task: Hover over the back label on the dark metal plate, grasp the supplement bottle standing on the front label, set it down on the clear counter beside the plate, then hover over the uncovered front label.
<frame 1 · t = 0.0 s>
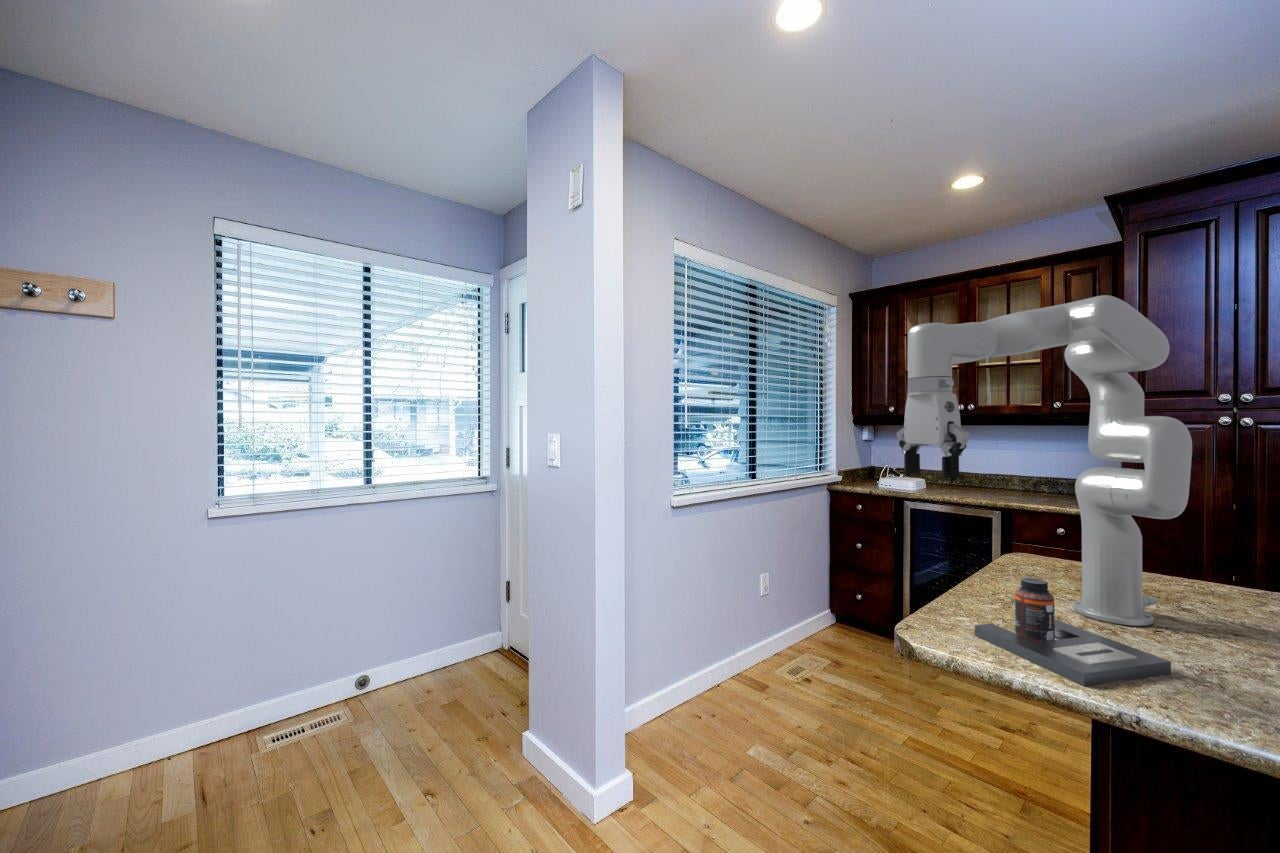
hand: (930, 475, 100), 31 cm above the table, tool pointing down, fingers open, 9 cm apart
supplement bottle: (1034, 641, 97), resting on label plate
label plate: (1064, 652, 92), on the table
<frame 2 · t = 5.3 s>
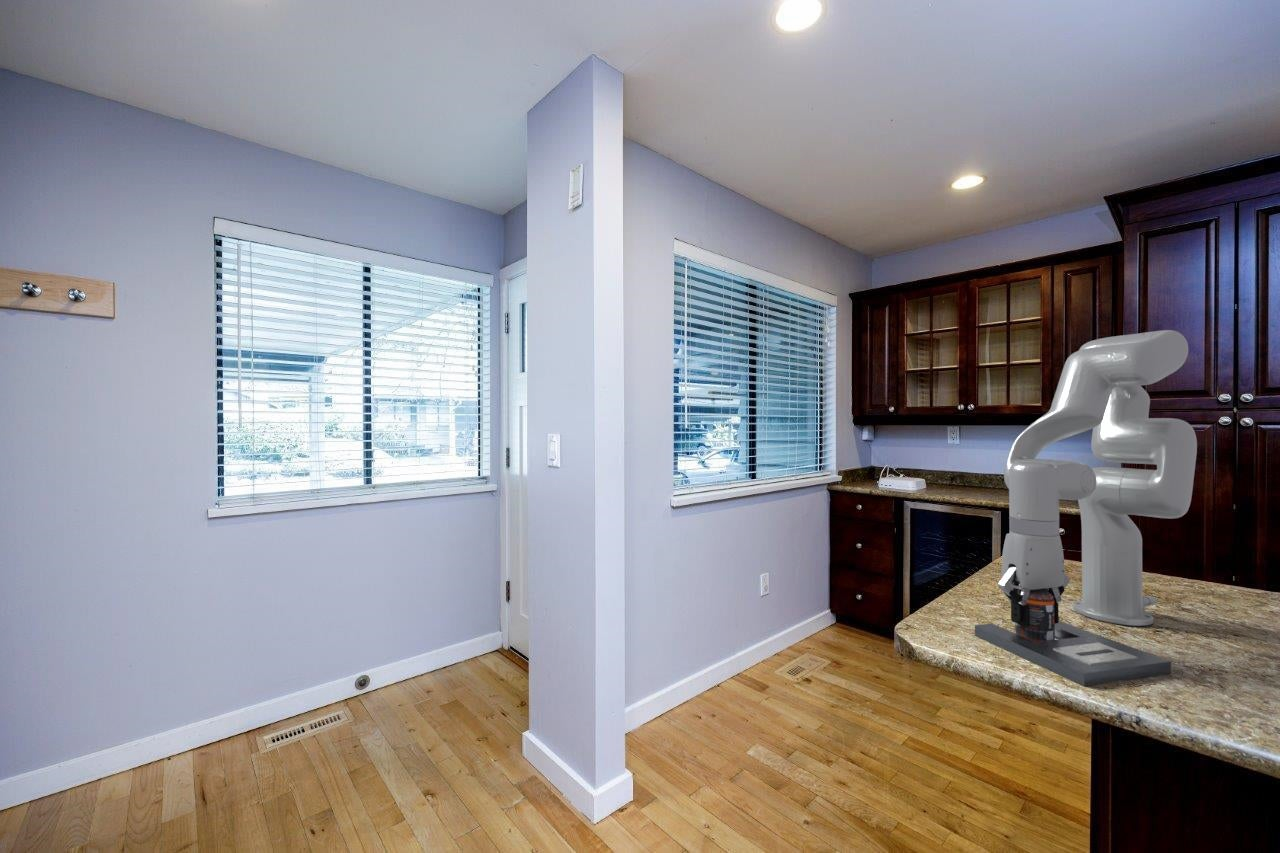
hand: (1034, 621, 97), 4 cm above the table, tool pointing down, fingers closed on supplement bottle, 6 cm apart
supplement bottle: (1034, 640, 97), resting on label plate, touching gripper
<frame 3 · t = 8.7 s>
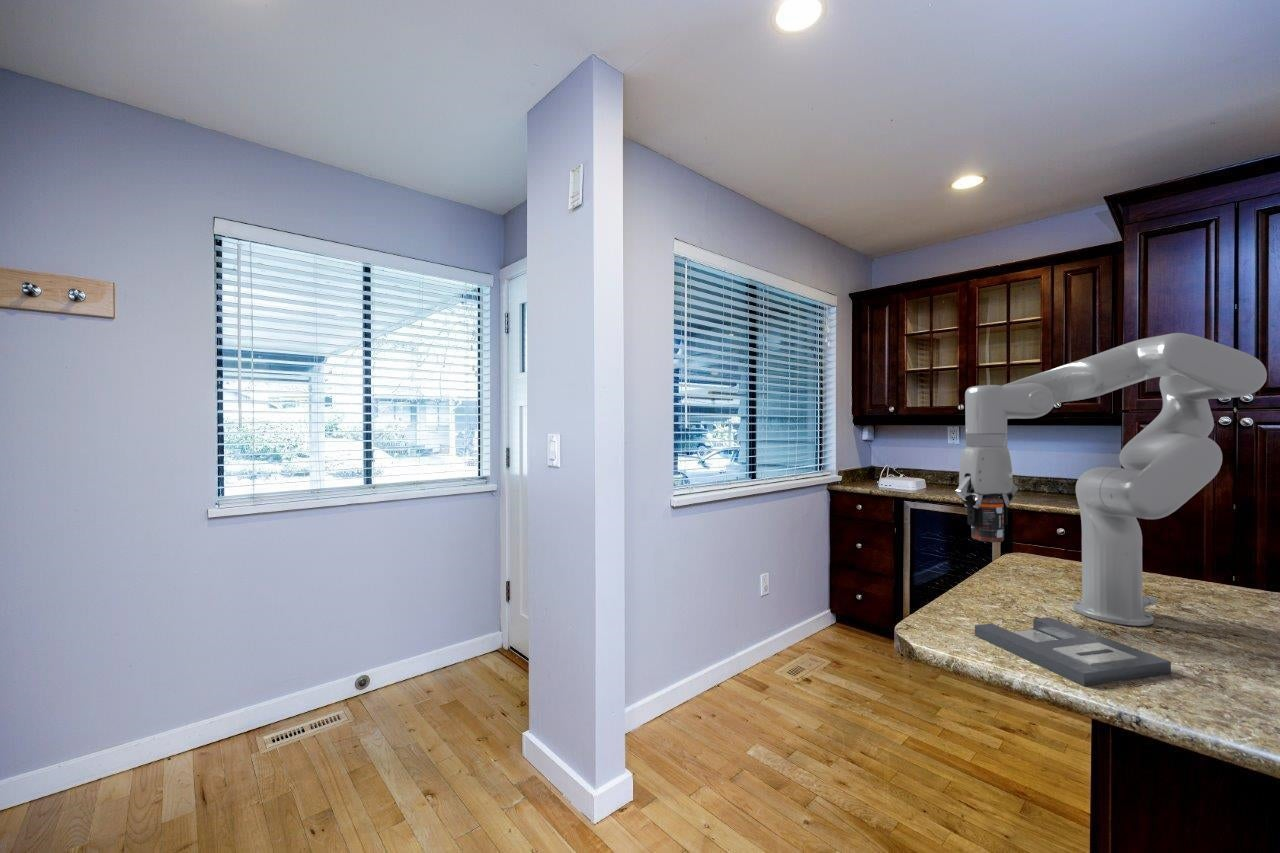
hand: (987, 524, 111), 19 cm above the table, tool pointing down, fingers closed on supplement bottle, 6 cm apart
supplement bottle: (987, 541, 111), point 16 cm above the table, touching gripper
when the fingers open (5 cm above the table, at t = 12.0 s): supplement bottle drops 1 cm, on the table.
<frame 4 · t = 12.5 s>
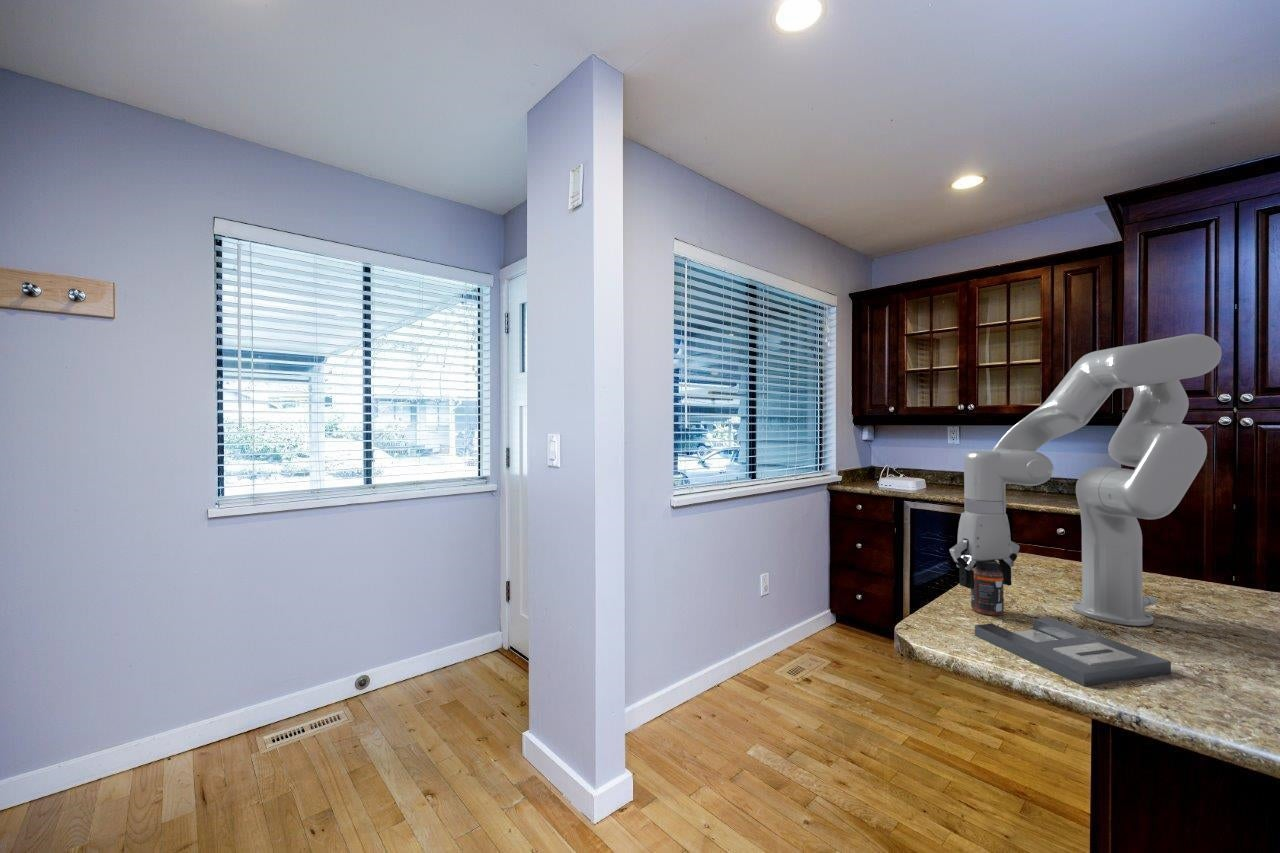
hand: (985, 585, 112), 6 cm above the table, tool pointing down, fingers open, 9 cm apart
supplement bottle: (987, 612, 112), on the table
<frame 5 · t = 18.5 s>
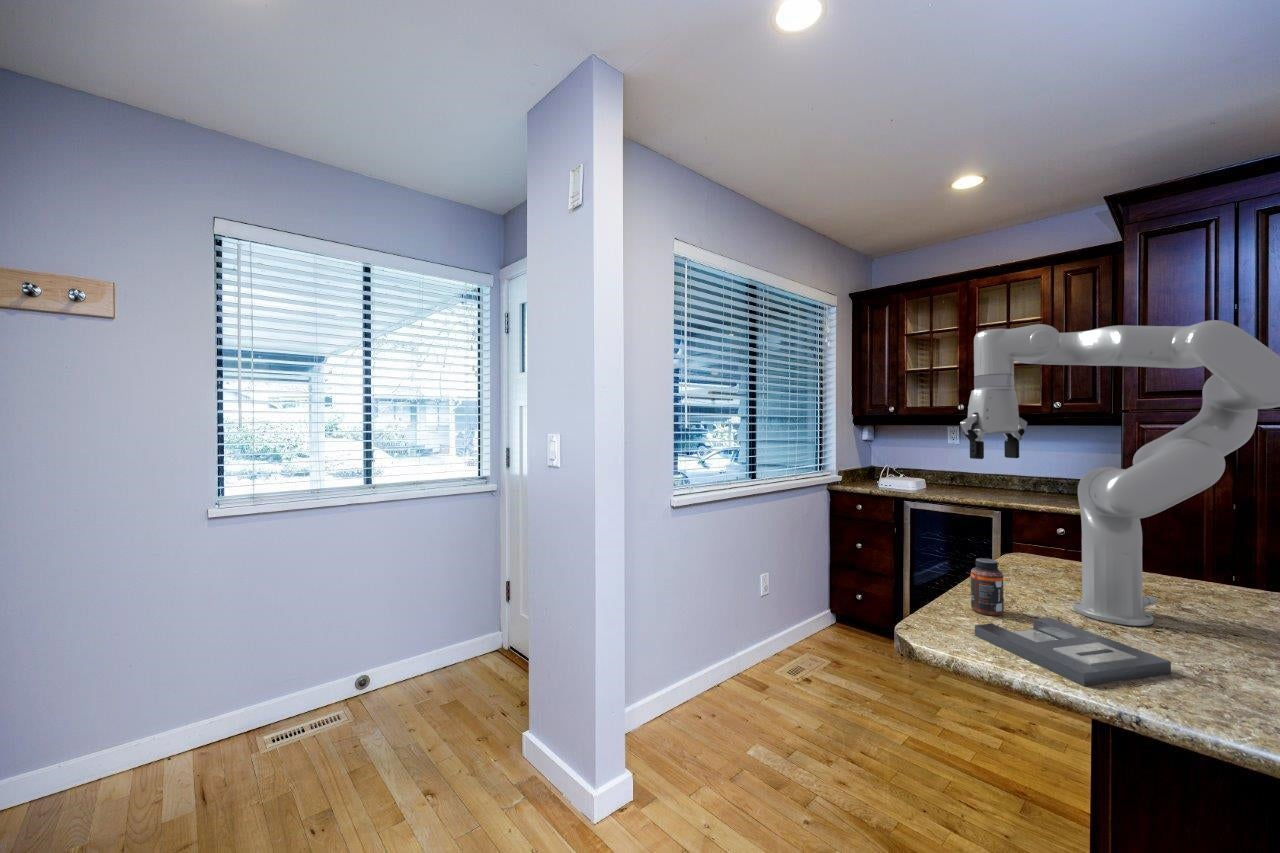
hand: (994, 458, 117), 33 cm above the table, tool pointing down, fingers open, 9 cm apart
nothing on the table moved.
at the end: supplement bottle inside the target area (0.4 cm from its centre), on the table; supplement bottle tilted 0°; the gripper is holding nothing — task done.
